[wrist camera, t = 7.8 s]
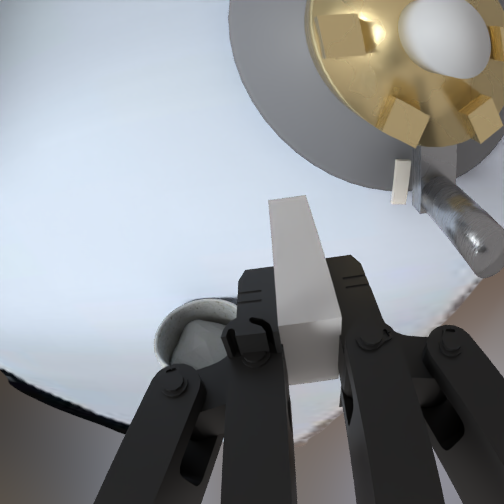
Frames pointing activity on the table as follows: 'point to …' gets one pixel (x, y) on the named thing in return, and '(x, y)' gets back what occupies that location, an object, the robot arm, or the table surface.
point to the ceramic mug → (194, 333)
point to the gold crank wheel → (416, 108)
